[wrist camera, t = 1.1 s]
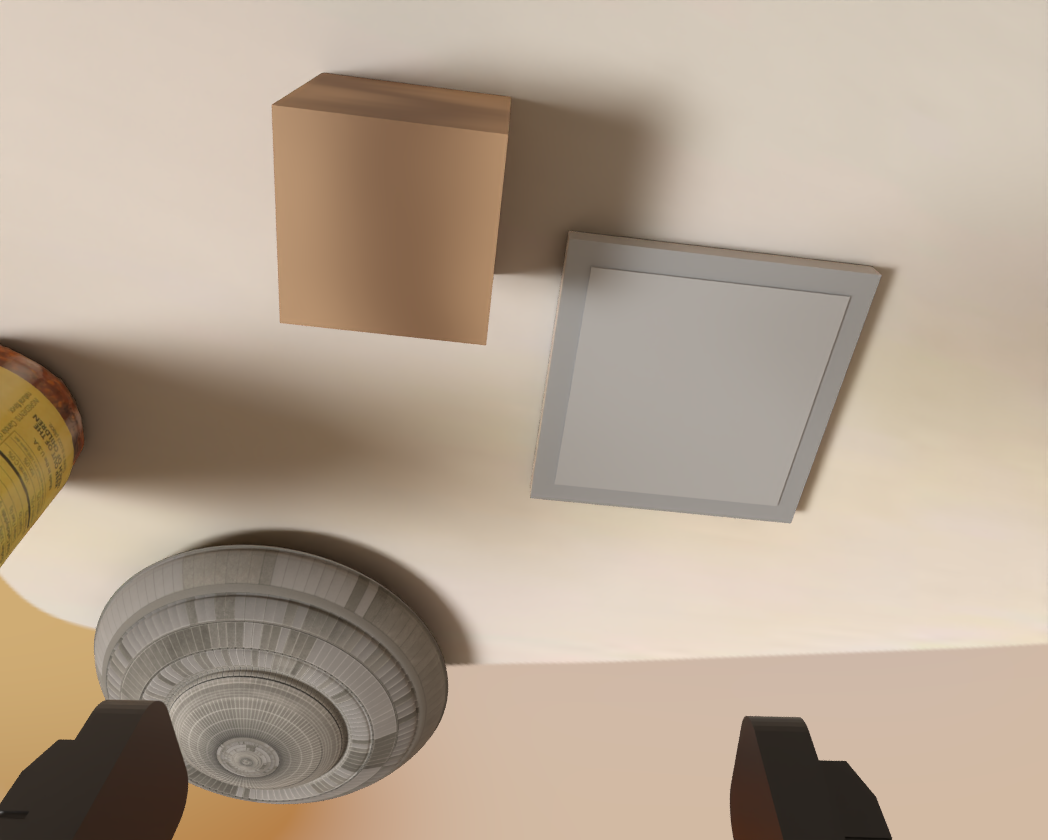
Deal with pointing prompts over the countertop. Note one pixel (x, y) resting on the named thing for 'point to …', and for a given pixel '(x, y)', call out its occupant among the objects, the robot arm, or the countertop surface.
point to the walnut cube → (388, 206)
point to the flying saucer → (274, 670)
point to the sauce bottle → (32, 443)
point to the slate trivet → (693, 375)
